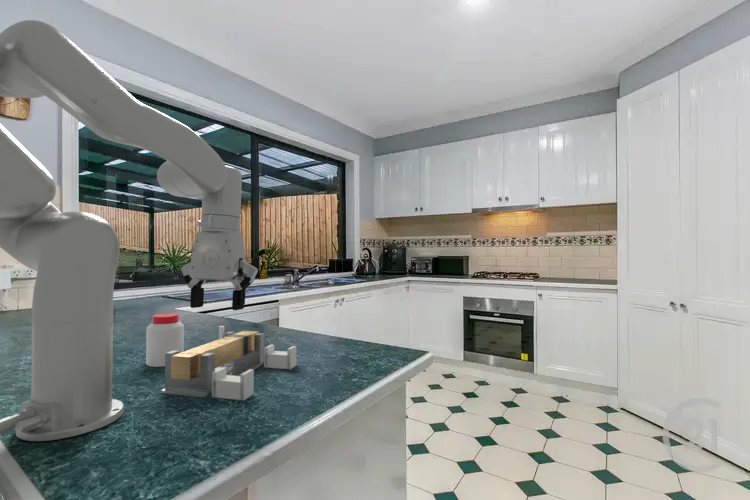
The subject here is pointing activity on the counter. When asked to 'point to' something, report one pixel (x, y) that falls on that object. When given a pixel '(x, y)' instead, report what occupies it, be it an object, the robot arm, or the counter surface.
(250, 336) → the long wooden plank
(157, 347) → the pill bottle
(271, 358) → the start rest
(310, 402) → the counter surface
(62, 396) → the robot arm
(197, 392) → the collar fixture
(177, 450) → the counter surface
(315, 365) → the counter surface
